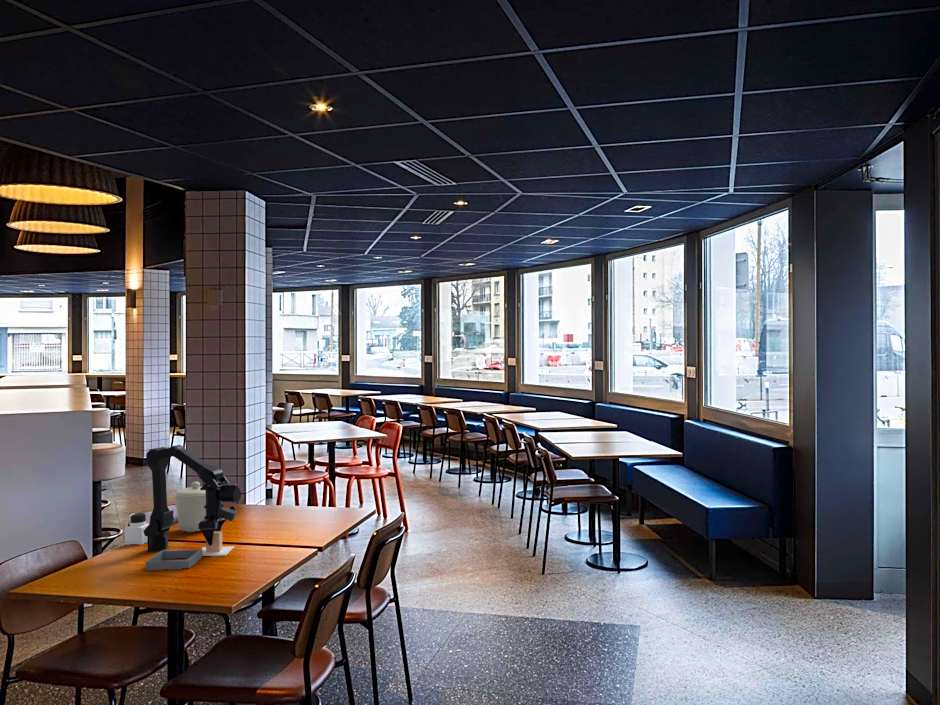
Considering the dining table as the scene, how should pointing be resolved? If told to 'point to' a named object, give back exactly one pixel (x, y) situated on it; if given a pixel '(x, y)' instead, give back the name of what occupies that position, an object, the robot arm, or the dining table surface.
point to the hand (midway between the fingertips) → (214, 542)
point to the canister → (190, 507)
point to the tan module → (215, 543)
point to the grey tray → (161, 564)
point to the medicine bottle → (136, 529)
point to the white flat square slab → (223, 552)
